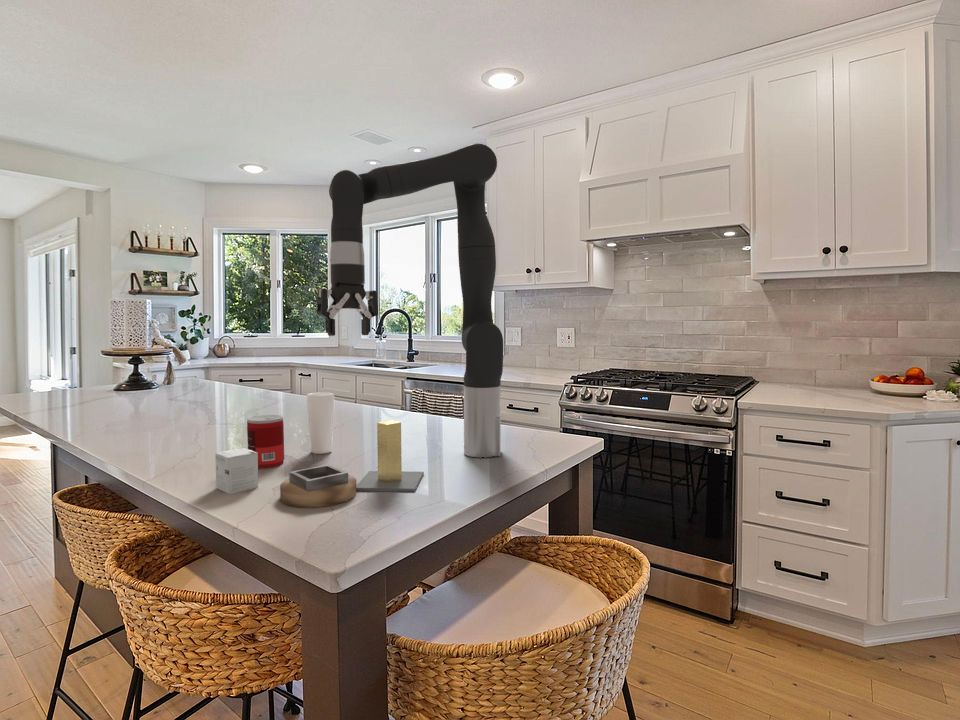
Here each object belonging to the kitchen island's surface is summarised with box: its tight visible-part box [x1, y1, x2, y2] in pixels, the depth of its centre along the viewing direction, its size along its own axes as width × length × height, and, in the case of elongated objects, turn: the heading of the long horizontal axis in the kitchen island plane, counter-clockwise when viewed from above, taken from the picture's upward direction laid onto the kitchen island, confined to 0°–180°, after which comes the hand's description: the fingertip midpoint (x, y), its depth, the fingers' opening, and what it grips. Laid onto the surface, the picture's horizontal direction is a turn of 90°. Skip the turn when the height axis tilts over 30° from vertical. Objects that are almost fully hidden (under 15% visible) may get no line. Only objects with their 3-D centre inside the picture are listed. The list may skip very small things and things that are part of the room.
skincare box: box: [215, 447, 259, 495], centre depth 109 cm, size 6×6×7 cm
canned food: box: [246, 414, 285, 469], centre depth 127 cm, size 8×8×11 cm
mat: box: [356, 470, 425, 492], centre depth 113 cm, size 12×12×1 cm
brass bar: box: [376, 419, 403, 483], centre depth 113 cm, size 4×4×12 cm
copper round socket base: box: [279, 464, 358, 509], centre depth 105 cm, size 14×14×4 cm
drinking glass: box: [306, 391, 335, 455], centre depth 139 cm, size 7×7×15 cm
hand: (348, 335), depth 124 cm, fingers open, 8 cm apart
